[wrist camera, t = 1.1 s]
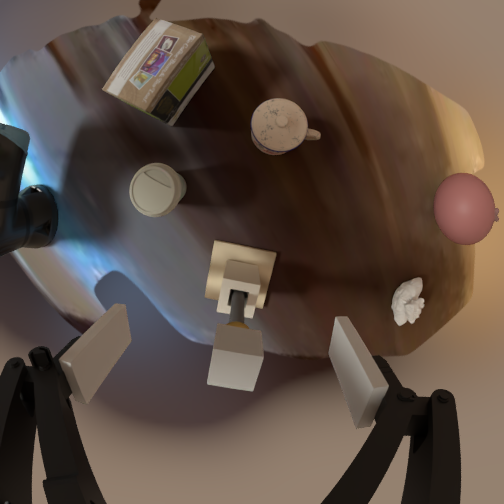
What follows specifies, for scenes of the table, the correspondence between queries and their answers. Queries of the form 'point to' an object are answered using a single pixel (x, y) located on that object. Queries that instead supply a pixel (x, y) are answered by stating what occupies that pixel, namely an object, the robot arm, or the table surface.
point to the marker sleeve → (239, 286)
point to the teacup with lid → (280, 126)
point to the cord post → (236, 351)
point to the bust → (407, 301)
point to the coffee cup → (156, 189)
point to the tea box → (162, 70)
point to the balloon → (464, 208)
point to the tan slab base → (239, 254)
